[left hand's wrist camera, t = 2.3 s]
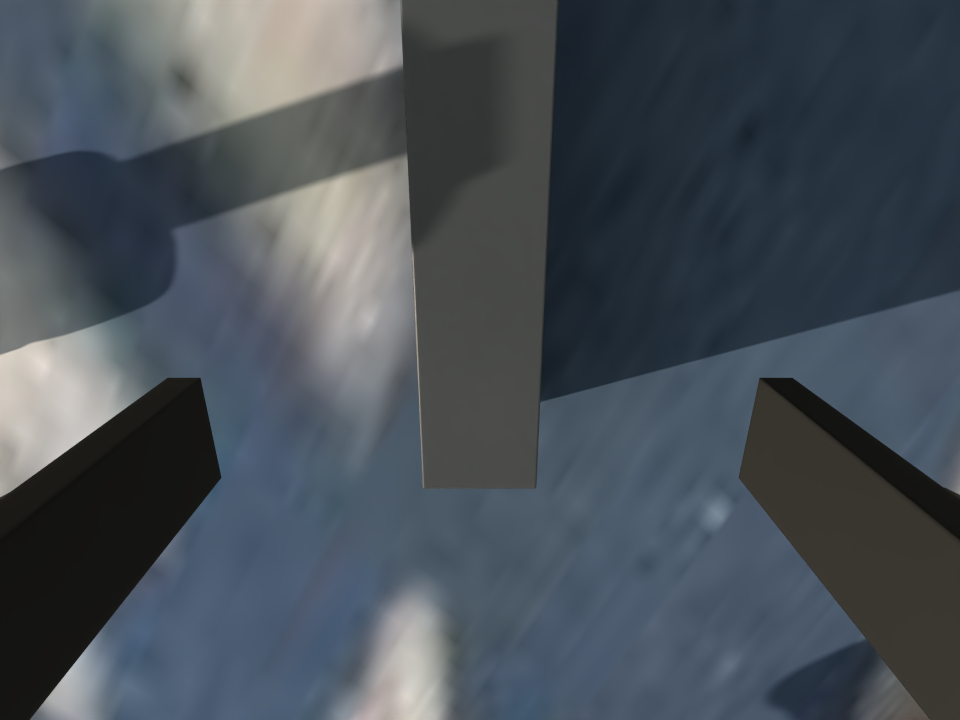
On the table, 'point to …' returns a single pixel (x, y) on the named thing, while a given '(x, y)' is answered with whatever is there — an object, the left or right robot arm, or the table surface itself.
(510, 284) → the beam
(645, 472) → the table surface
